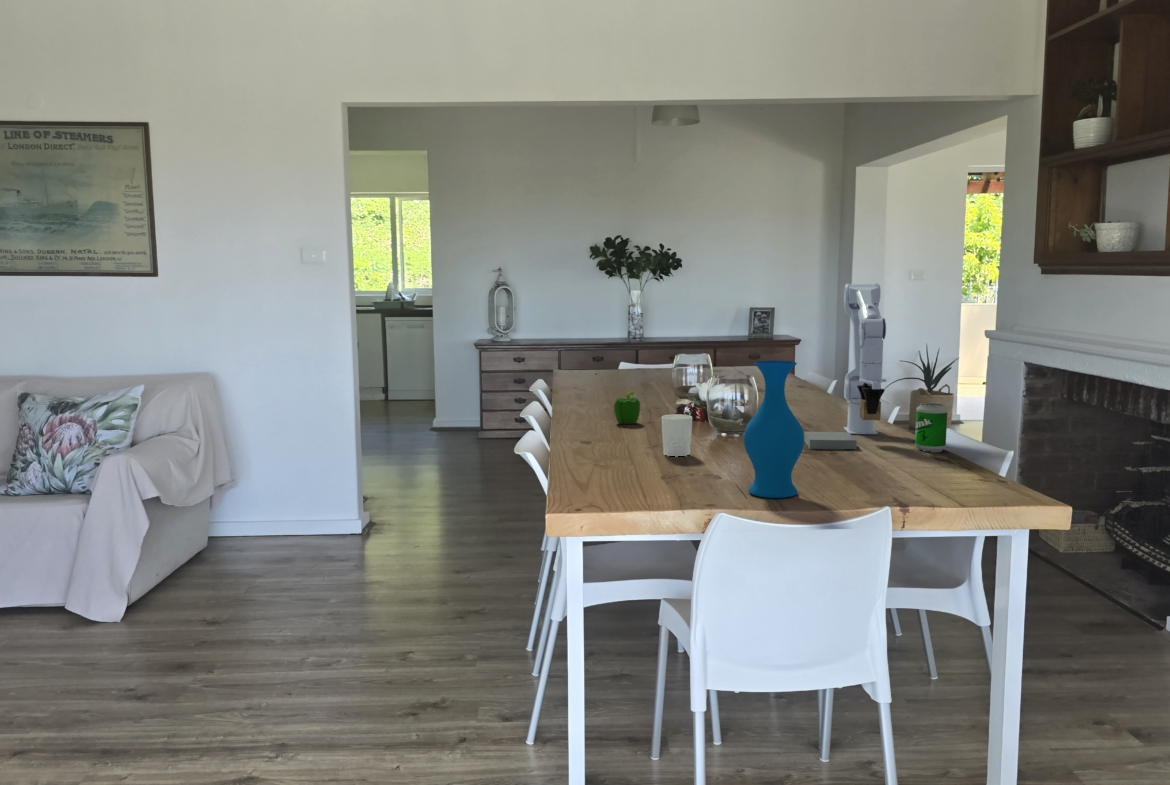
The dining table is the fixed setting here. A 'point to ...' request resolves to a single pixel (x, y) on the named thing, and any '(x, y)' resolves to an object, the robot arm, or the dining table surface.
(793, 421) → the vase
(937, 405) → the soda can
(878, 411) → the walnut cube
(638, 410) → the bell pepper
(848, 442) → the plinth
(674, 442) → the white cup
